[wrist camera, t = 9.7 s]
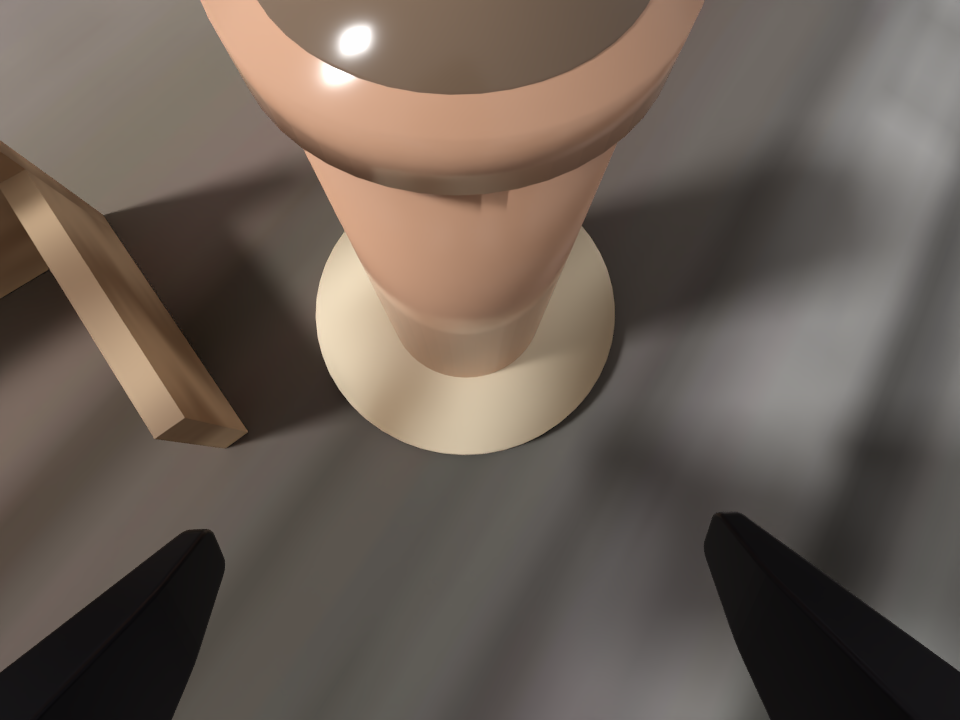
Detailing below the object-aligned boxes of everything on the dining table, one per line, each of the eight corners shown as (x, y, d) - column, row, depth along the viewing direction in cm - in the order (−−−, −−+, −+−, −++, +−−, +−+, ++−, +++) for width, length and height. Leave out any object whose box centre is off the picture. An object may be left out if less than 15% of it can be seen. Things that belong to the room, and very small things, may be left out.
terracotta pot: (579, 334, 18) (824, -2, 6) (432, 416, 17) (326, 234, 5) (496, 206, 20) (540, -292, 7) (356, 275, 19) (113, -157, 6)
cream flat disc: (648, 241, 20) (653, 234, 19) (549, 507, 17) (551, 507, 16) (399, 146, 21) (397, 136, 20) (266, 381, 18) (259, 377, 18)
